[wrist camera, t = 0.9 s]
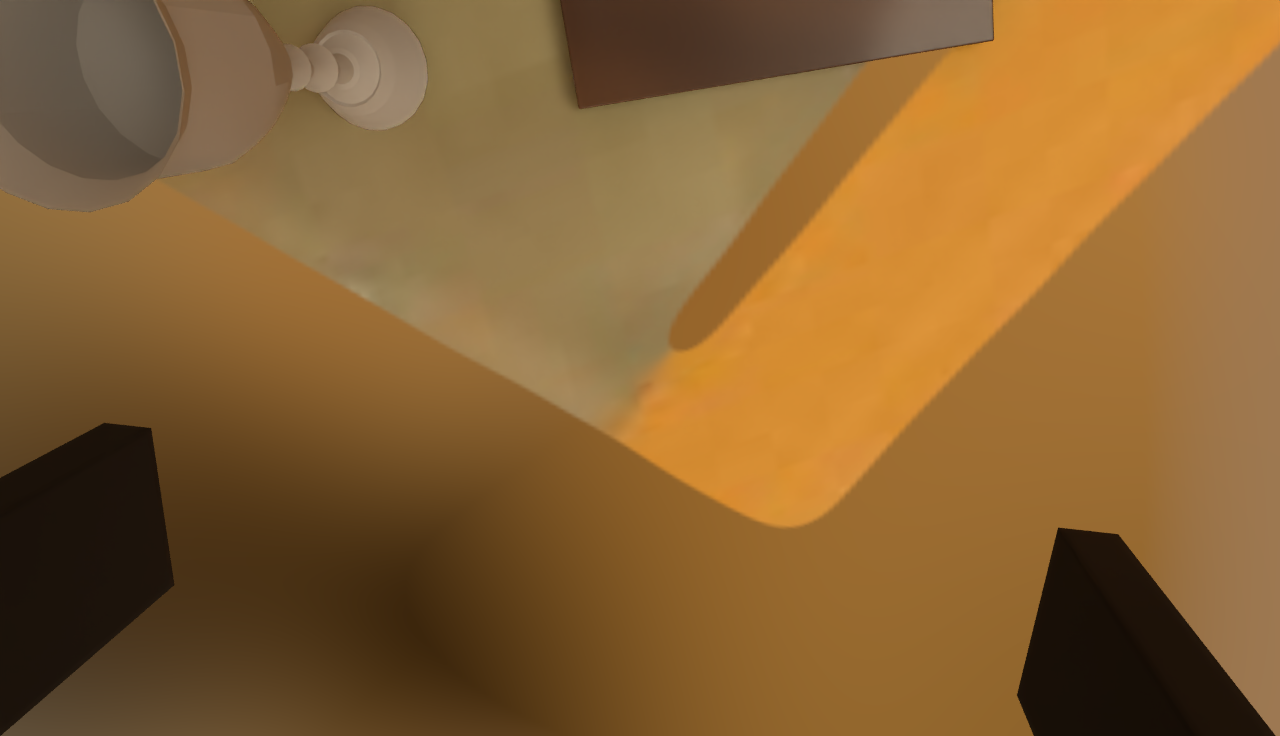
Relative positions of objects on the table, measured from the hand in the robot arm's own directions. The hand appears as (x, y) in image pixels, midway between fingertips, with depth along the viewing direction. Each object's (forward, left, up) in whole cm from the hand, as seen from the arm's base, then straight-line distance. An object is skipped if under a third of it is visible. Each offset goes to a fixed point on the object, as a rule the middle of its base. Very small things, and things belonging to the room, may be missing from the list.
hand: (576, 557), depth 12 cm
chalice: (-9, -13, -26) cm, 31 cm away
